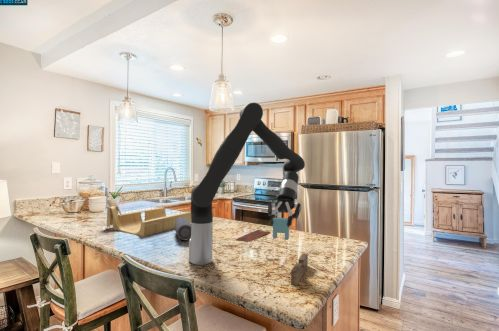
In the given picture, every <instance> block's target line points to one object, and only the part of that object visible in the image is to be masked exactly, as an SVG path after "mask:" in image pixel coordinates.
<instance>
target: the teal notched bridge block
mask: <svg viewBox="0 0 499 331" xmlns="http://www.w3.org/2000/svg"><path fill="white" fill-rule="evenodd" d="M287 222H288V217H278V216H276V217H275V218H273V225H272V239H275V240H276V239H277V238H278V234H284V240H286V241H288V240H289V239H290V227H288V226H287Z"/></svg>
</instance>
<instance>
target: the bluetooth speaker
mask: <svg viewBox="0 0 499 331" xmlns="http://www.w3.org/2000/svg"><path fill="white" fill-rule="evenodd" d="M174 231H175V233H176V236H177V237H178V238H179V239H180V240H181V241H183V240H184V241H187V240H190V239H191V224H190V222H189V221H188V219H186V218H184V217H180V218H178V219H177V220H176V221H175V228H174Z"/></svg>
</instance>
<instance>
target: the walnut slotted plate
mask: <svg viewBox="0 0 499 331" xmlns="http://www.w3.org/2000/svg"><path fill="white" fill-rule="evenodd" d="M308 261H309V260H308V253H304V252H303V253H301V255H300V256H299V258H298V262H295V264H294V265H293V267H292V268H291V269H290V270H291V271H290V284H291V286H298V285H299V282H300V281H301V279H302V278H303V276H304V273H305V272H306V270H307V268H308V265H309V264H308Z"/></svg>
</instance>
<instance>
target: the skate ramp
mask: <svg viewBox="0 0 499 331" xmlns="http://www.w3.org/2000/svg"><path fill="white" fill-rule="evenodd" d="M106 212H107V213H106V229H109V230H110V229H111V226H112V230H115V231H116V232H117V231H118V232H121V233H127V234H130V235H136V236H140V237H146V236H150V235H154V234H157V233H162V232H165V231H166V232H167V231H169V230H173V229H175V221H176V220H177V219H178V218H180V217H184V218H186V219H188V221H189V222H190V223H191V208H190V210H189V209H187V210H184V211H180V212H179V213H176V212H174V213H170V214H171V215H167V214H166V207H165V206H164V204H161V206H160V204H159V205H158V204H157V207H156V208H155V207H153V208H150V209H149V208H148V209H147V208H145V209H142V210H137V211H135V209H131V212H129V210H127V209H126V212H125V213H122V211H121V209H119V205H118V203H114V205H109V206H107V210H106ZM142 213H144V220H143V218H142Z"/></svg>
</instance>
